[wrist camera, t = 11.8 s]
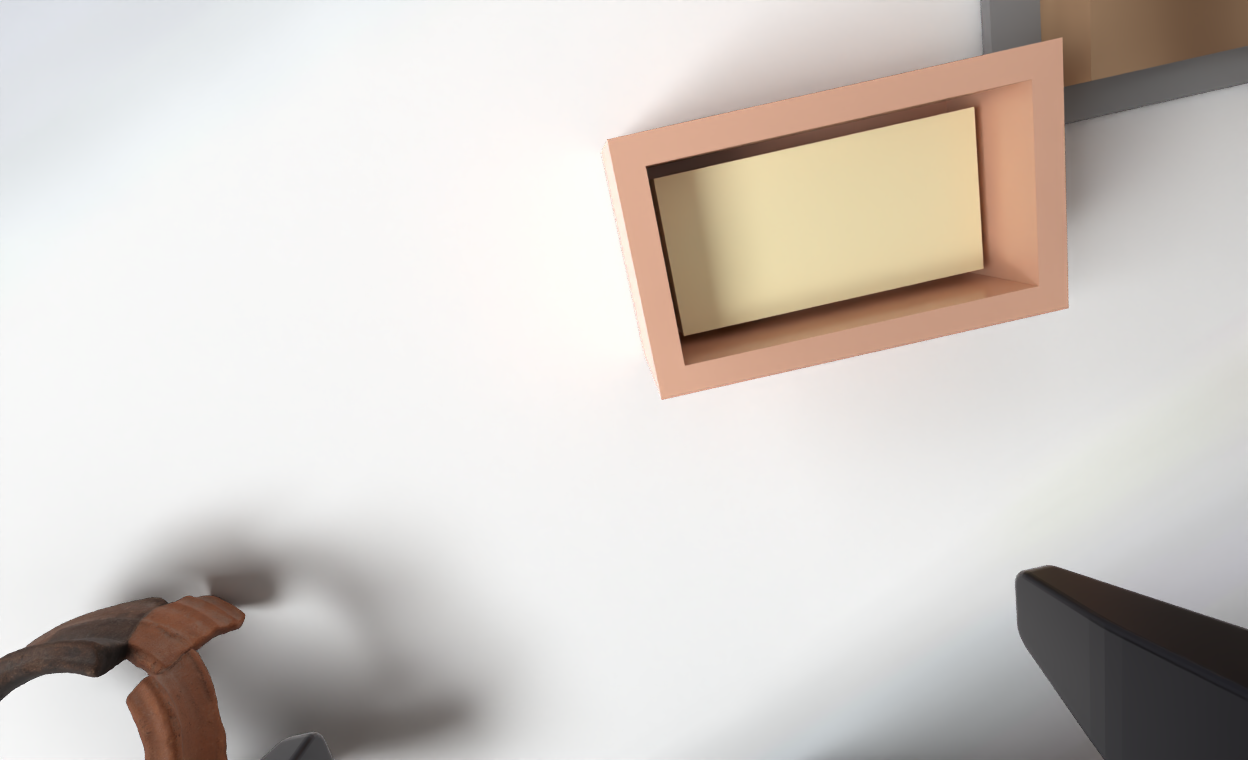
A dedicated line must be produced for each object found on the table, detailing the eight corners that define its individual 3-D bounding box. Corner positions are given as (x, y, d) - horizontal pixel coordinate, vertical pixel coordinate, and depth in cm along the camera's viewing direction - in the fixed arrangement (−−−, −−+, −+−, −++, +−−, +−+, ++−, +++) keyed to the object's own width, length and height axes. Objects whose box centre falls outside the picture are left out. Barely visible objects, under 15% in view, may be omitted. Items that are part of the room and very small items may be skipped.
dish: (963, 283, 20) (1068, 307, 16) (644, 355, 20) (661, 399, 16) (949, 73, 18) (1062, 37, 14) (601, 152, 18) (606, 139, 14)
